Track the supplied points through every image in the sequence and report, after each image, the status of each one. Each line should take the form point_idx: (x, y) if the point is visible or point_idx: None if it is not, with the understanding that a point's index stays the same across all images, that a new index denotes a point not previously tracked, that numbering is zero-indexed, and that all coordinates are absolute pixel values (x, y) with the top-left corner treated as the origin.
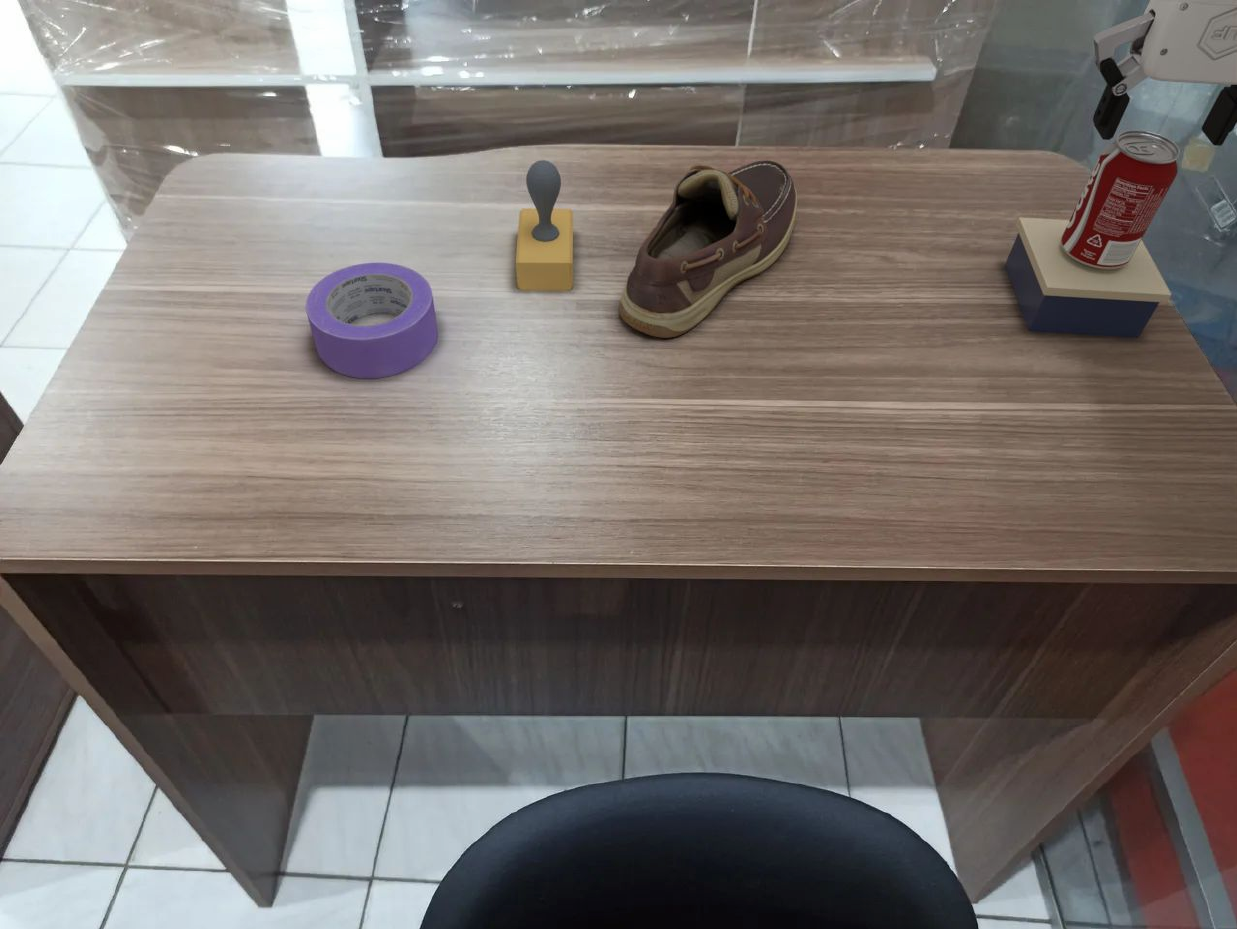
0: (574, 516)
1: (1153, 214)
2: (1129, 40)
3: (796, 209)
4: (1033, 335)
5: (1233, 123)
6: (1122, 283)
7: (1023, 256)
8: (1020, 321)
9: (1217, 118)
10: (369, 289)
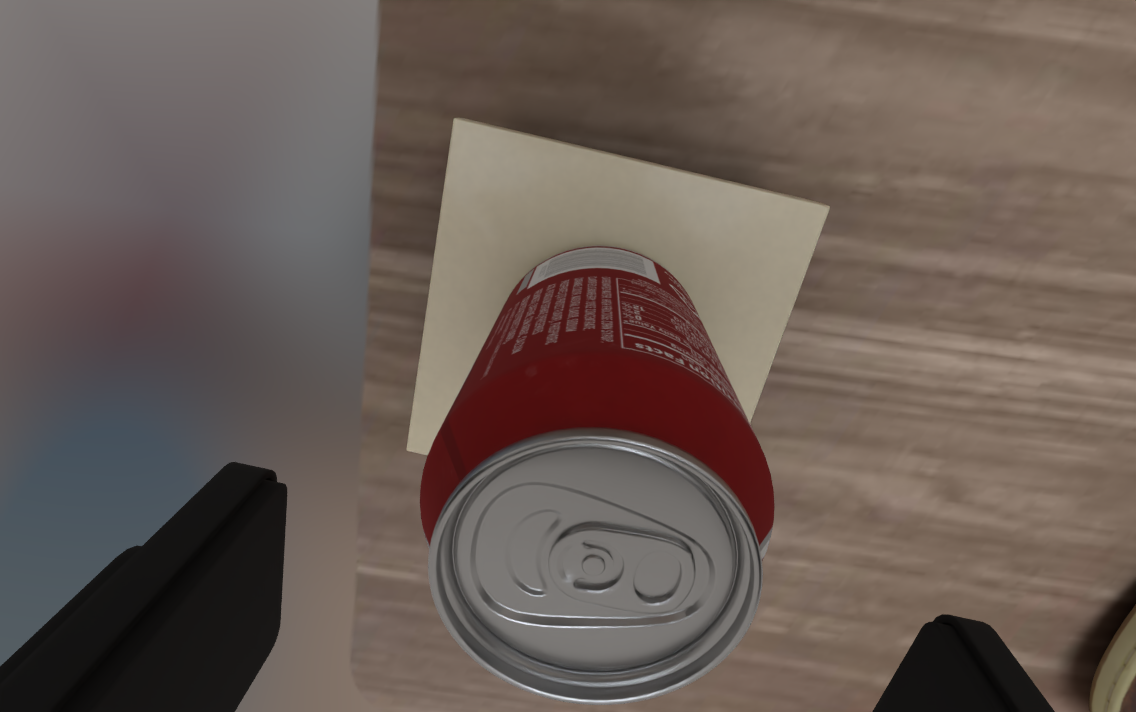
0: None
1: (525, 311)
2: None
3: (1115, 656)
4: (758, 180)
5: (127, 566)
6: (582, 193)
7: None
8: None
9: (209, 659)
10: None
